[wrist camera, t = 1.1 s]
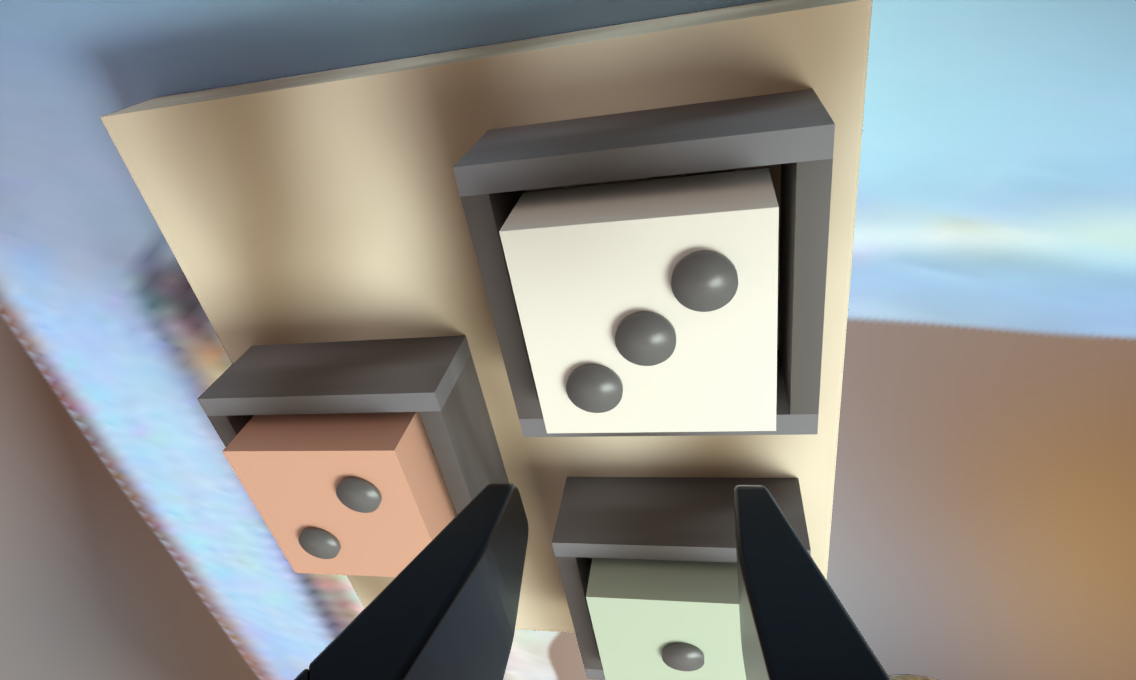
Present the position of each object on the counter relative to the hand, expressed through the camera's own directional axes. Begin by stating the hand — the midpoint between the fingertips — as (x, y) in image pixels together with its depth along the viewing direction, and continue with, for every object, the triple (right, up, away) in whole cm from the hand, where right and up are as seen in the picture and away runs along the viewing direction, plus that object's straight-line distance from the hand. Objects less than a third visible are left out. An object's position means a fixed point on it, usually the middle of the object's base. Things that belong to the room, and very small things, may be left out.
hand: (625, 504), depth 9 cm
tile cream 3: (+1, +4, +5) cm, 6 cm away
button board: (-2, +1, +12) cm, 12 cm away
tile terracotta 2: (-7, -1, +10) cm, 12 cm away
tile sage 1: (+3, -6, +11) cm, 13 cm away
